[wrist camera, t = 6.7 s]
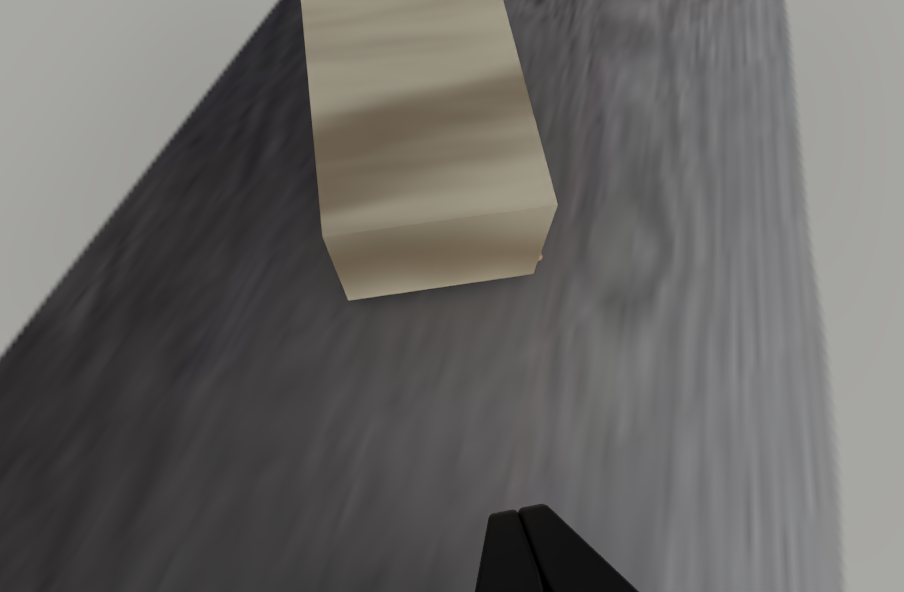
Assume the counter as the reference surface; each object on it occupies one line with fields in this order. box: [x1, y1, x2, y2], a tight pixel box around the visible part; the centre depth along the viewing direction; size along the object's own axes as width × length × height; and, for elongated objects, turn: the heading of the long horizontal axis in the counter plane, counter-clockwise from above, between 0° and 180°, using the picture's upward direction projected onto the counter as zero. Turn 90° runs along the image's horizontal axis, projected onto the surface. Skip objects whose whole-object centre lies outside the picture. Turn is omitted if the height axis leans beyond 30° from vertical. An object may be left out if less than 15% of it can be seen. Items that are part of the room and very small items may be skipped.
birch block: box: [301, 0, 558, 301], centre depth 21 cm, size 5×7×10 cm
